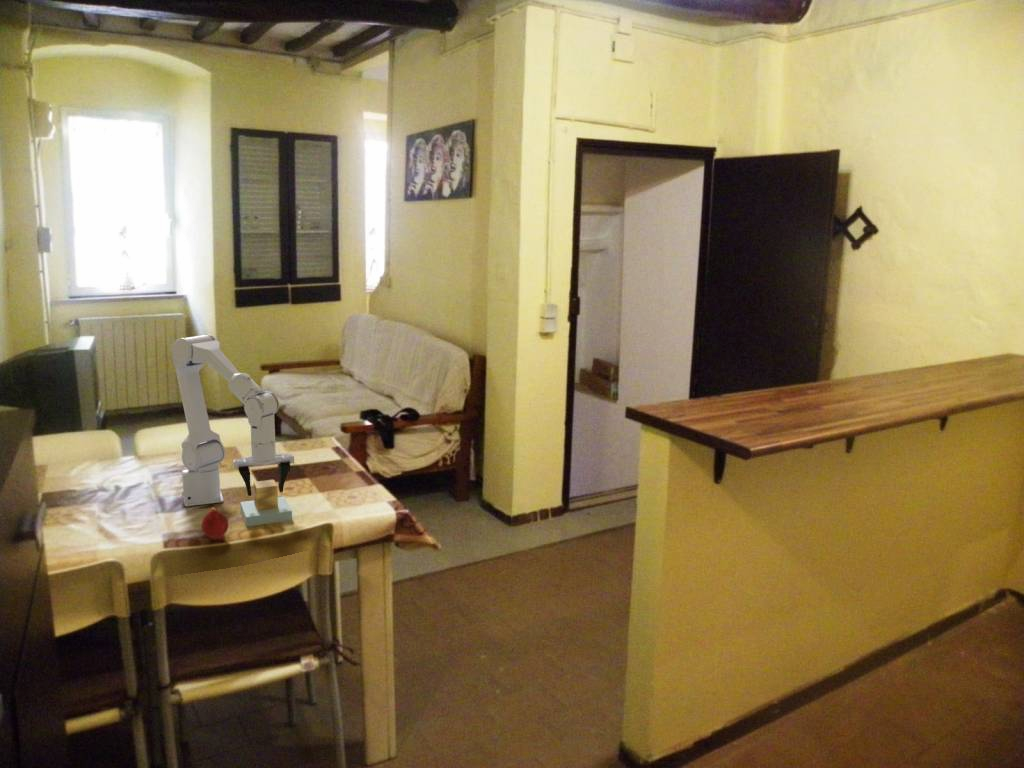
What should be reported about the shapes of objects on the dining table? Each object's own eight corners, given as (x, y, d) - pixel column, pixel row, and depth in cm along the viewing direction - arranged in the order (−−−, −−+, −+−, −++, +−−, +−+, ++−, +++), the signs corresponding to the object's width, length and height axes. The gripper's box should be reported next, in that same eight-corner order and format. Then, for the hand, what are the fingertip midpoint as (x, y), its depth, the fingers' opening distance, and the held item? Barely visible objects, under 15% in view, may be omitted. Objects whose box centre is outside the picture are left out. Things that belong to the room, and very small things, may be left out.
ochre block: (257, 510, 193) (256, 488, 192) (254, 504, 198) (253, 481, 197) (278, 508, 196) (277, 485, 194) (274, 501, 200) (273, 479, 199)
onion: (232, 534, 185) (230, 503, 183) (224, 544, 179) (222, 512, 177) (207, 534, 185) (205, 502, 183) (198, 544, 179) (196, 511, 177)
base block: (246, 528, 190) (245, 517, 189) (240, 513, 200) (240, 502, 199) (292, 522, 195) (291, 510, 194) (284, 507, 204) (284, 496, 204)
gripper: (234, 448, 186) (236, 501, 189) (295, 442, 192) (297, 494, 195) (231, 440, 192) (233, 492, 195) (290, 435, 199) (292, 485, 201)
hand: (265, 492), depth 196 cm, fingers open, 7 cm apart
